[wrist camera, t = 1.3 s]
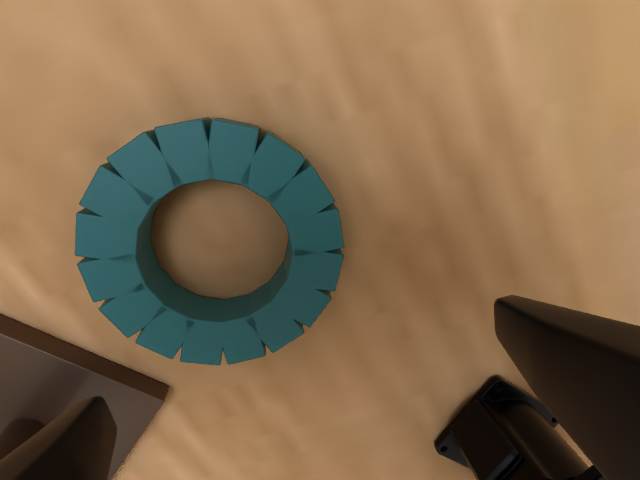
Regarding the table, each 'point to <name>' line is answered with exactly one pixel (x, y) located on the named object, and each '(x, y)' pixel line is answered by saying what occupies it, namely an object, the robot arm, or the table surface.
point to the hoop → (152, 281)
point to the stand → (67, 388)
